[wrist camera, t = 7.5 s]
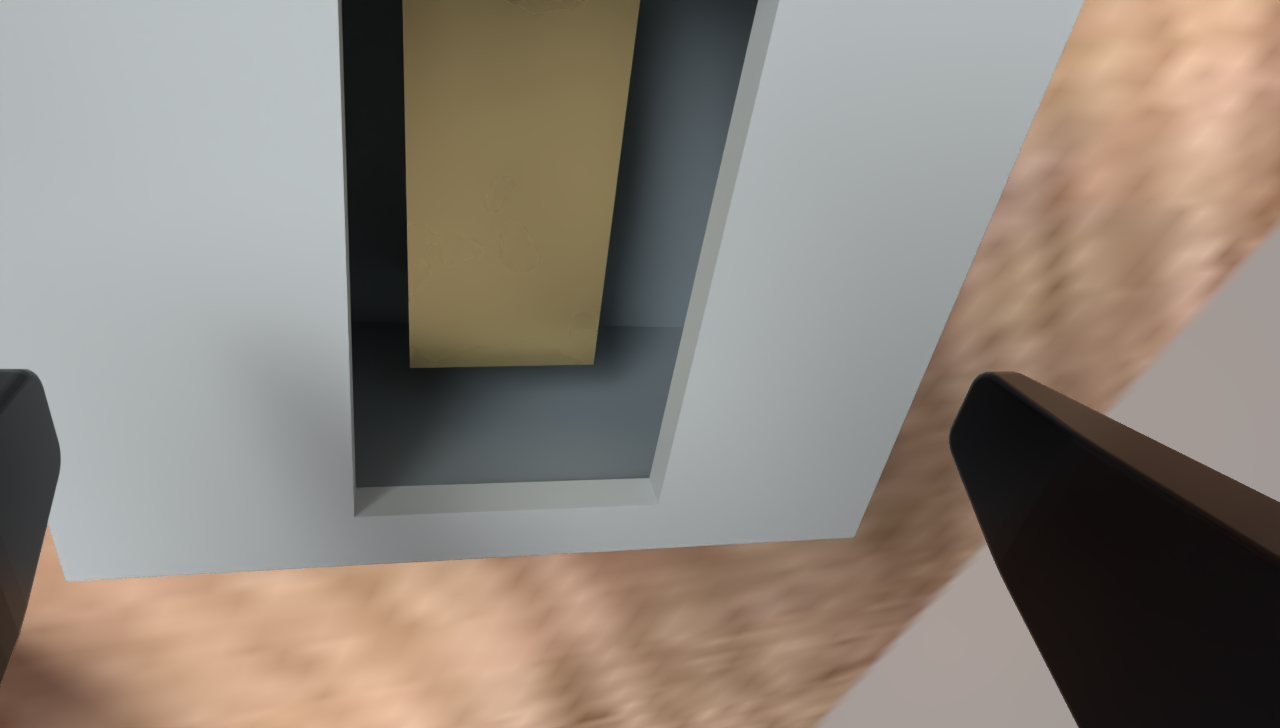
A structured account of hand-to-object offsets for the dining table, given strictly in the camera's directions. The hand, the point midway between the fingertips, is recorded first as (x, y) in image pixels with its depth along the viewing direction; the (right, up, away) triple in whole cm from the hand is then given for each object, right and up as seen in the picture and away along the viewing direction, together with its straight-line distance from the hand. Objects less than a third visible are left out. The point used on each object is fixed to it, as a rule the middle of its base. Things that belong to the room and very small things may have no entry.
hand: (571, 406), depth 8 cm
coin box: (-2, +5, +7) cm, 9 cm away
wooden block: (-2, +5, +6) cm, 8 cm away
